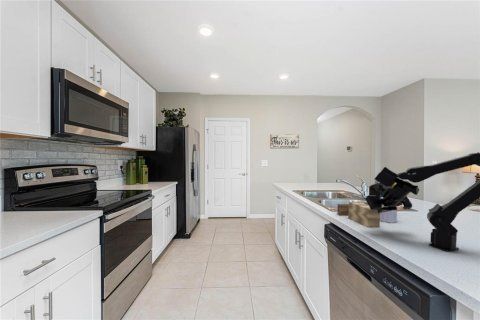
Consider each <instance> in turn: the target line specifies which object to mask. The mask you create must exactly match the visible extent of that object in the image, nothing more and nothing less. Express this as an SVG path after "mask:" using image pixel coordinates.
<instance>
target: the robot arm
mask: <svg viewBox="0 0 480 320" xmlns="http://www.w3.org/2000/svg"><path fill="white" fill-rule="evenodd" d="M474 165H475V166H478V167H480V153H478V152H473V153H469V154H467V155H464V156H459V157H455V158H453V159H449V160H445V161H441V162H439V163H434V164H429V165H422V166H414V167H409V168H407V169H406V170H405V171H403V172H399V173H396V172H393V171H392V170H391V169H389V167H386V166H384V167H383V168H382V169H381V170H380V171H379V172H378V174H376V176H375V178H374V179H373V180H374V181H375V180H376V181H378V183H377V184H375V183H374V184H375V186H374V189H375V190H377V191H379V192H380V193H382V194H381V197H383V198H378V197H377V196H375V195H369V194H368V195H367V196H366V197H364V200H365V202H366V203H367V205H369V207H370V209H372V210H377V212H378V213H383V212H388V211H394V210H397V211H398V207H401V206H403V207H402V209H403V210H406V211H407V210H410V209H412V208H413V203H412V202H411V201H410V200H411V199H409V198H408V196H409V194H410V193H412V194H414V195H416V196H417V195H418V194H419V191H420V187H419V185H414V184H413V183H420V182H423V181H425V180H428V179H429V178H432V177H434V176H436V175H439V174H443V173H447V172H450V171H455V170H459V169H462V168H466V167H469V166H470V167H471V166H474ZM394 183H395V185H394V186H393V187H392V185H393V184H394ZM479 199H480V179H479V180H477V181H476V182H475V183H473V184H472V185H470V186H469V187H467V189H465V190H463V191H462V192H460V193H459V194H458V195H457V196H455V197H454V198H452V199H451V200H450V201H448V202H447V203H446V204H442V205H440V204H439V203H436V204H435V205H434V206H433V207H432V208H429V209H428V212H427V214H426V219H427V220H428V222H429V223H430V224H431V226H432V227H434V228H432V229H431V232H430V241H429V242H430V243H428V245H429V247H430V246H431V247H434V248H437V249H440V250H443V251H446V252H453V251H458V250H459V249H460V248H459V247H457V237H458V235H457V234H458V232H459V231H458V229H457V228H456V227H455V226H454V225H453V224H452V222H454V221H455V219H456V217H457V216H458V215H459V213H460V212H462V211H463V210H465V209H466V208H468V207H469V206H470V205H472V204H473V203H474V202H476V201H477V200H479ZM396 206H397V208H396Z"/></svg>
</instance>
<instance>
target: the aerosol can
mask: <svg viewBox="0 0 480 320" xmlns="http://www.w3.org/2000/svg"><path fill="white" fill-rule="evenodd" d="M377 183H379V182H378V181H376V180H374V184H373V183H372V184H371V185H370V186H368V195H375V196H377V197H378V198H382V197H381V194H382V193H380V192H379V191H377V190H375V189H374V186H375V184H377Z"/></svg>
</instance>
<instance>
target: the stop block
mask: <svg viewBox="0 0 480 320" xmlns="http://www.w3.org/2000/svg"><path fill="white" fill-rule="evenodd" d="M336 209H337V213H336V214H337V215H338V216H339V217H341V216H342V217H344V216H347V217H348V212H349V203H338V204H337V208H336Z"/></svg>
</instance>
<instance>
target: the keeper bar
mask: <svg viewBox="0 0 480 320" xmlns="http://www.w3.org/2000/svg"><path fill="white" fill-rule="evenodd" d="M348 204H349V212H348V216H347V217H348V219H349V220H351V221H354V222H355V223H357V224H360V225H361V226H363V227H366V228H368V229H370V228H380V225H381V224H380V223H381V221H380V213H378V212H377V210H372V209H370V207H369V205H368V204H366V203H363V202H360V201H349V202H348Z"/></svg>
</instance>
